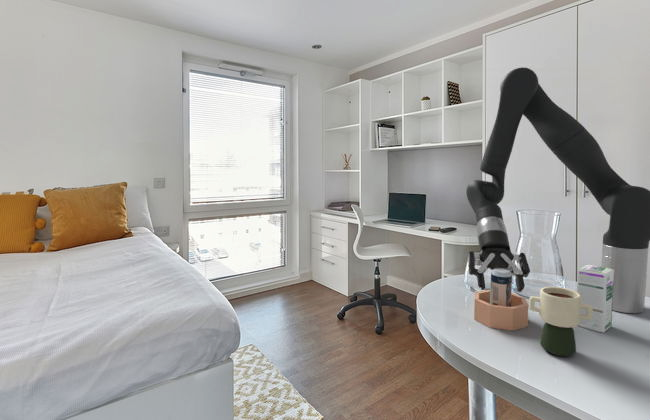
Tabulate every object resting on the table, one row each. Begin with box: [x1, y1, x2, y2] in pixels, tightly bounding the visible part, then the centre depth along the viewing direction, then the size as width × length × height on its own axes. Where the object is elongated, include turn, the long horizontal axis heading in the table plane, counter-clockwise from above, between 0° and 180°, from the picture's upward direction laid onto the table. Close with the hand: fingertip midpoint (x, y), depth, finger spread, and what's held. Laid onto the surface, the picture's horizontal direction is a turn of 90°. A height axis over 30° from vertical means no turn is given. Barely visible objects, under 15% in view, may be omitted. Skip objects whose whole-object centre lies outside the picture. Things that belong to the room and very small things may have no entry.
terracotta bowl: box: [473, 289, 529, 331], centre depth 88 cm, size 12×12×6 cm
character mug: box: [528, 286, 593, 357], centre depth 71 cm, size 11×7×13 cm, turn 57°
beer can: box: [489, 268, 513, 307], centre depth 87 cm, size 5×5×12 cm
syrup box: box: [576, 264, 614, 334], centre depth 82 cm, size 6×6×14 cm
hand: (501, 289), depth 86 cm, fingers open, 8 cm apart
